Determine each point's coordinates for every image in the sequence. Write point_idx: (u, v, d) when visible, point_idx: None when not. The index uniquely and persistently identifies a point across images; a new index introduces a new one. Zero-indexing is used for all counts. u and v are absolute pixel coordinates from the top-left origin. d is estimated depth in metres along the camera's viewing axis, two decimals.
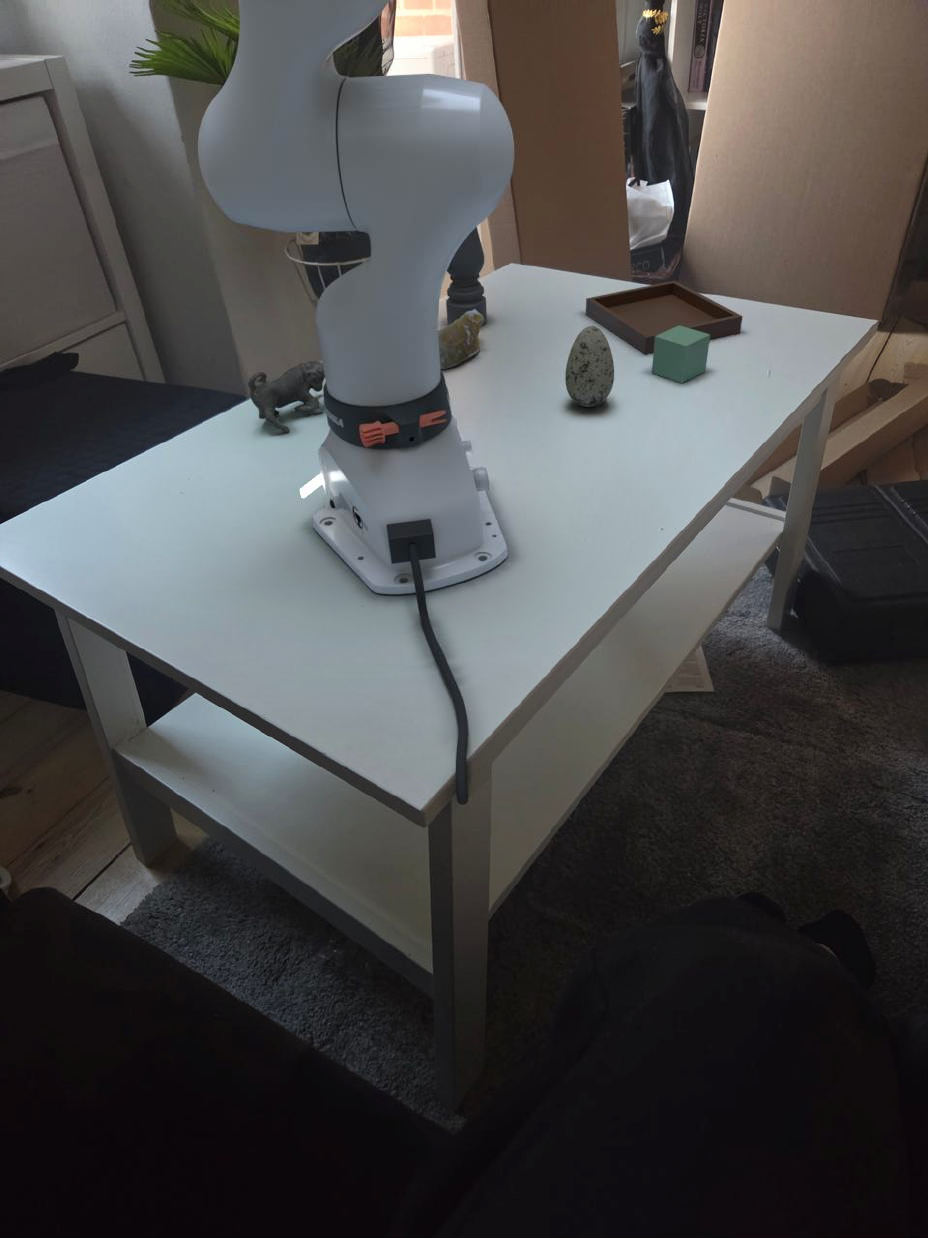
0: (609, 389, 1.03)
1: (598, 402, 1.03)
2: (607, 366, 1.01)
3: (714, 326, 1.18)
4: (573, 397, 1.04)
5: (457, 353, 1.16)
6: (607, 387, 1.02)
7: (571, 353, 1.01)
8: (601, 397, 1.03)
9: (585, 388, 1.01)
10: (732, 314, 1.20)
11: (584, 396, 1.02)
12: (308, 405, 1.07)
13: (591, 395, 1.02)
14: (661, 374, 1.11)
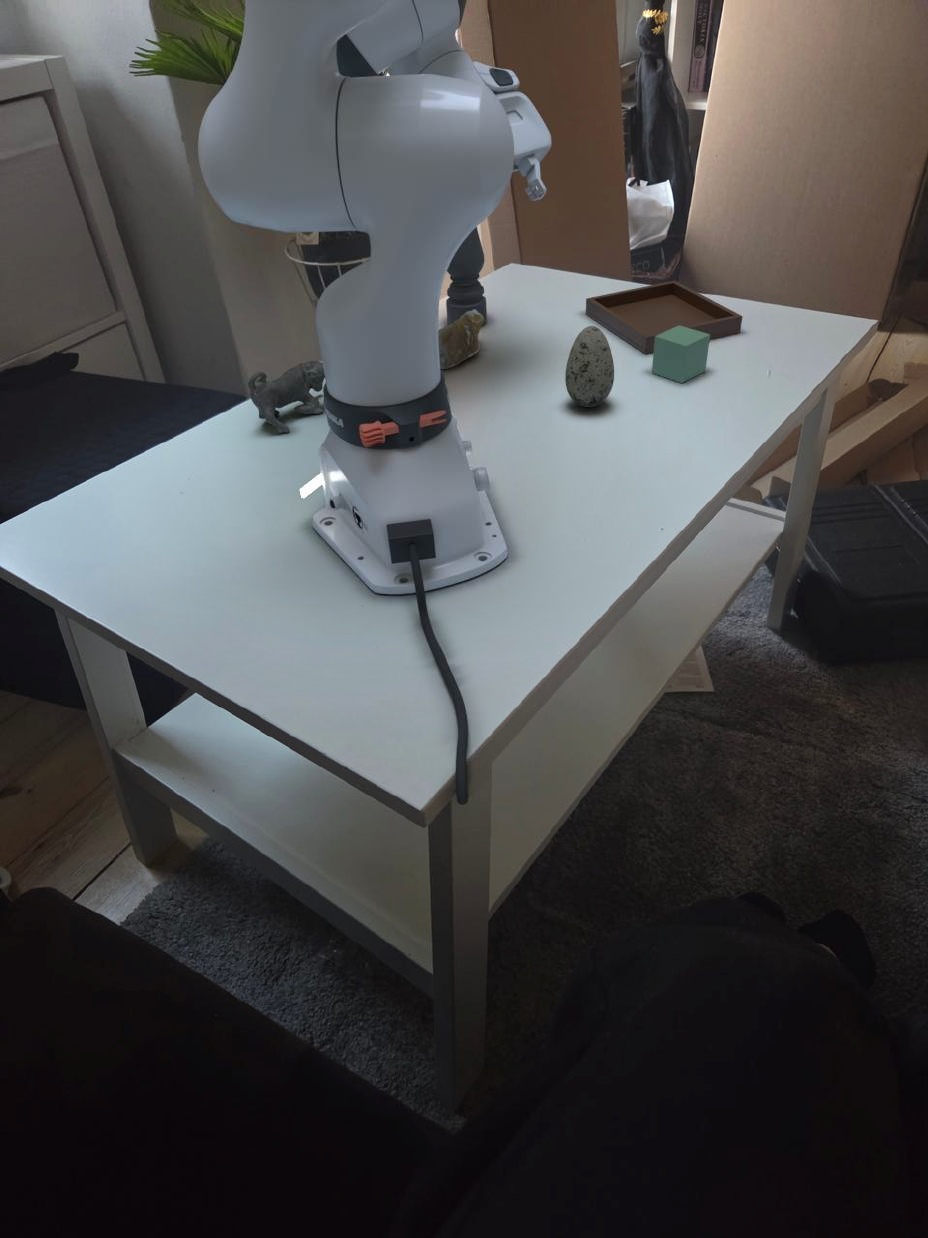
0: (609, 389, 1.03)
1: (598, 402, 1.03)
2: (607, 366, 1.01)
3: (714, 326, 1.18)
4: (573, 397, 1.04)
5: (457, 353, 1.16)
6: (607, 387, 1.02)
7: (571, 353, 1.01)
8: (601, 397, 1.03)
9: (585, 388, 1.01)
10: (732, 314, 1.20)
11: (584, 396, 1.02)
12: (308, 405, 1.07)
13: (591, 395, 1.02)
14: (661, 374, 1.11)
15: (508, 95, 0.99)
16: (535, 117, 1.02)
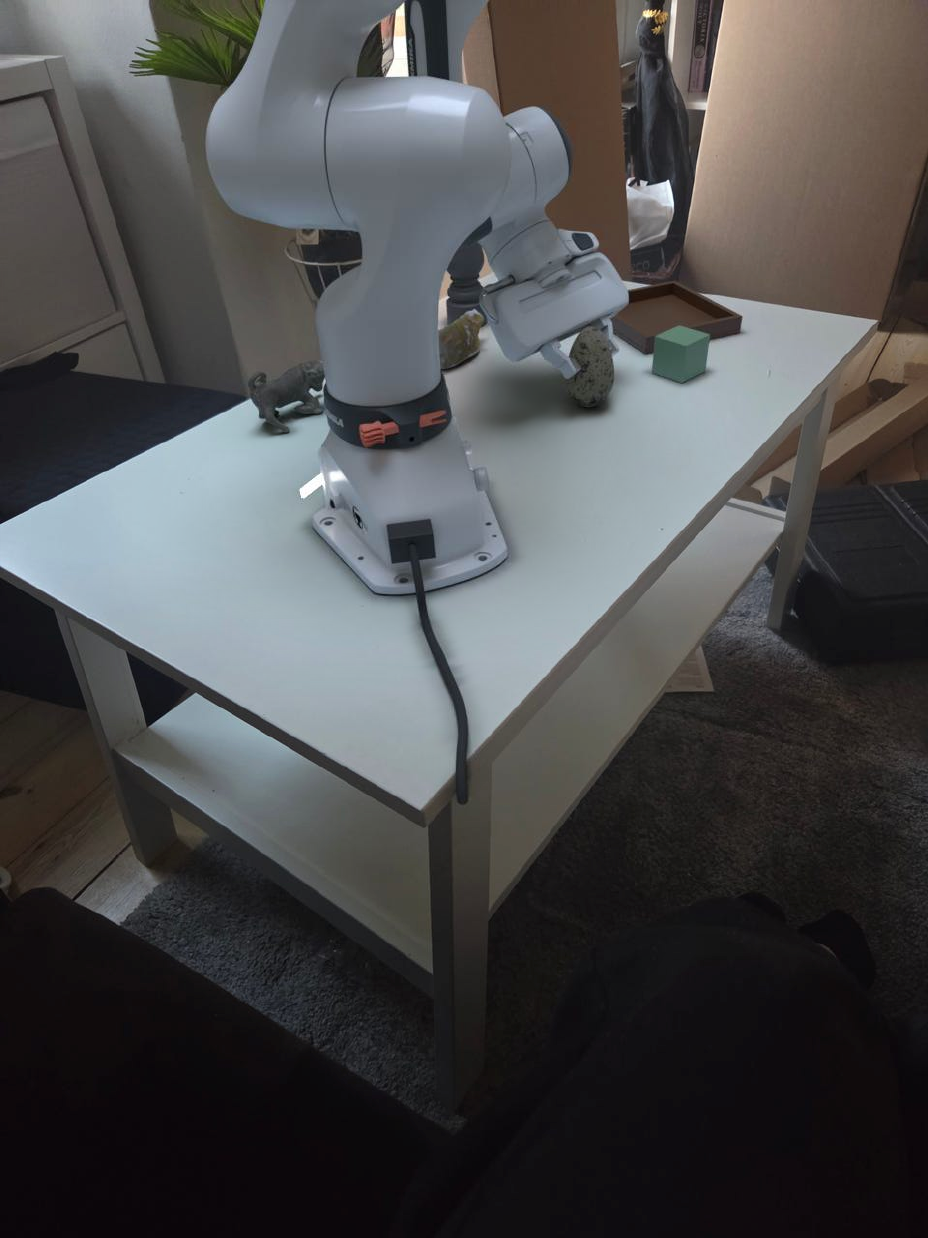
0: (609, 389, 1.03)
1: (598, 402, 1.03)
2: (607, 366, 1.01)
3: (714, 326, 1.18)
4: (573, 397, 1.04)
5: (457, 353, 1.16)
6: (607, 387, 1.02)
7: (571, 353, 1.01)
8: (600, 397, 1.03)
9: (585, 388, 1.01)
10: (732, 314, 1.20)
11: (584, 396, 1.02)
12: (307, 405, 1.07)
13: (591, 395, 1.02)
14: (661, 374, 1.11)
15: (589, 257, 1.02)
16: (613, 276, 1.04)
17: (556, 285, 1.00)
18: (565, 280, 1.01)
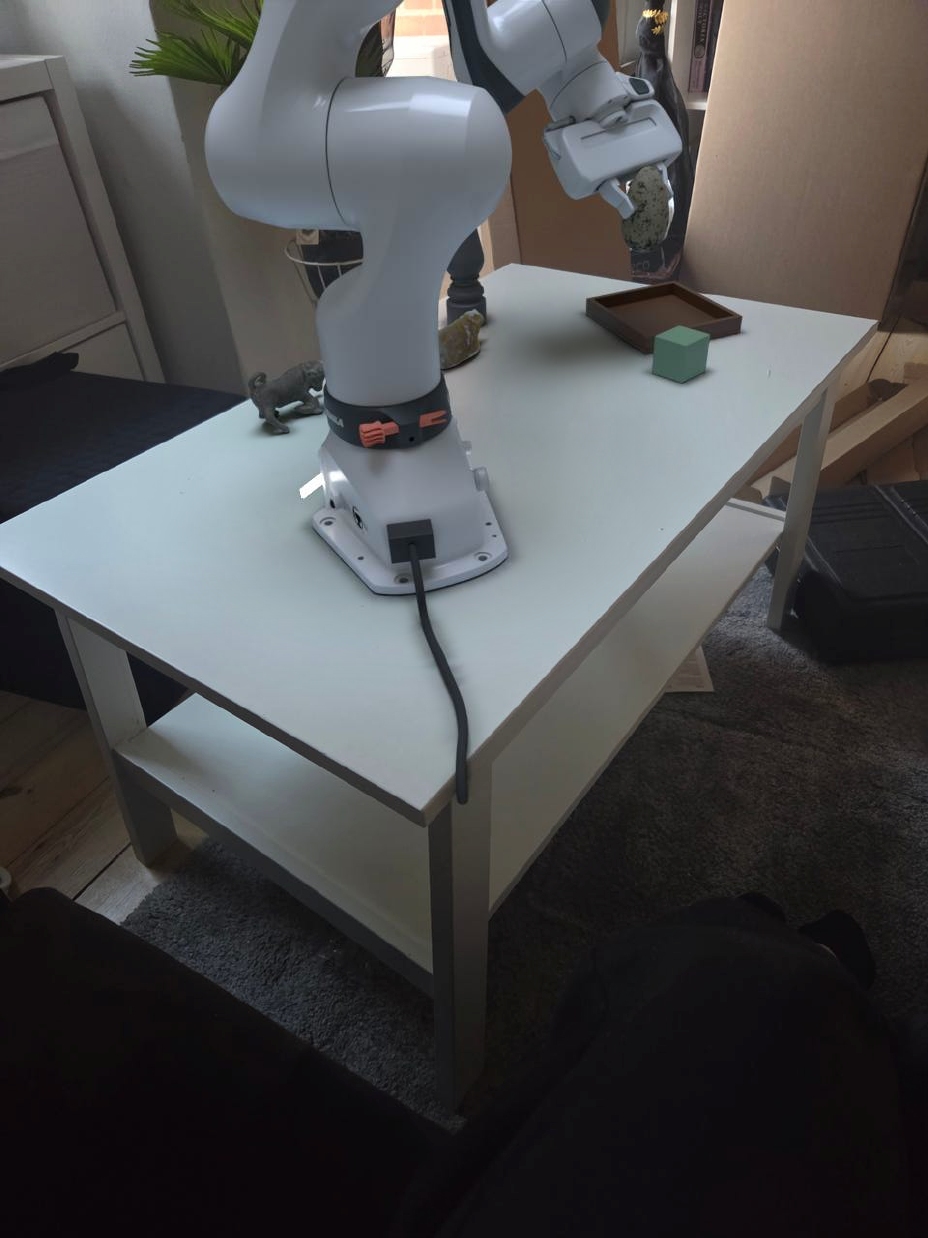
0: (664, 231, 1.06)
1: (653, 245, 1.07)
2: (663, 206, 1.04)
3: (714, 326, 1.18)
4: (629, 241, 1.07)
5: (457, 353, 1.16)
6: (662, 228, 1.05)
7: (628, 194, 1.05)
8: (656, 239, 1.06)
9: (642, 229, 1.05)
10: (732, 314, 1.20)
11: (640, 238, 1.06)
12: (308, 405, 1.07)
13: (647, 236, 1.05)
14: (661, 374, 1.11)
15: (645, 103, 1.05)
16: (668, 123, 1.08)
17: (614, 126, 1.03)
18: (623, 123, 1.04)
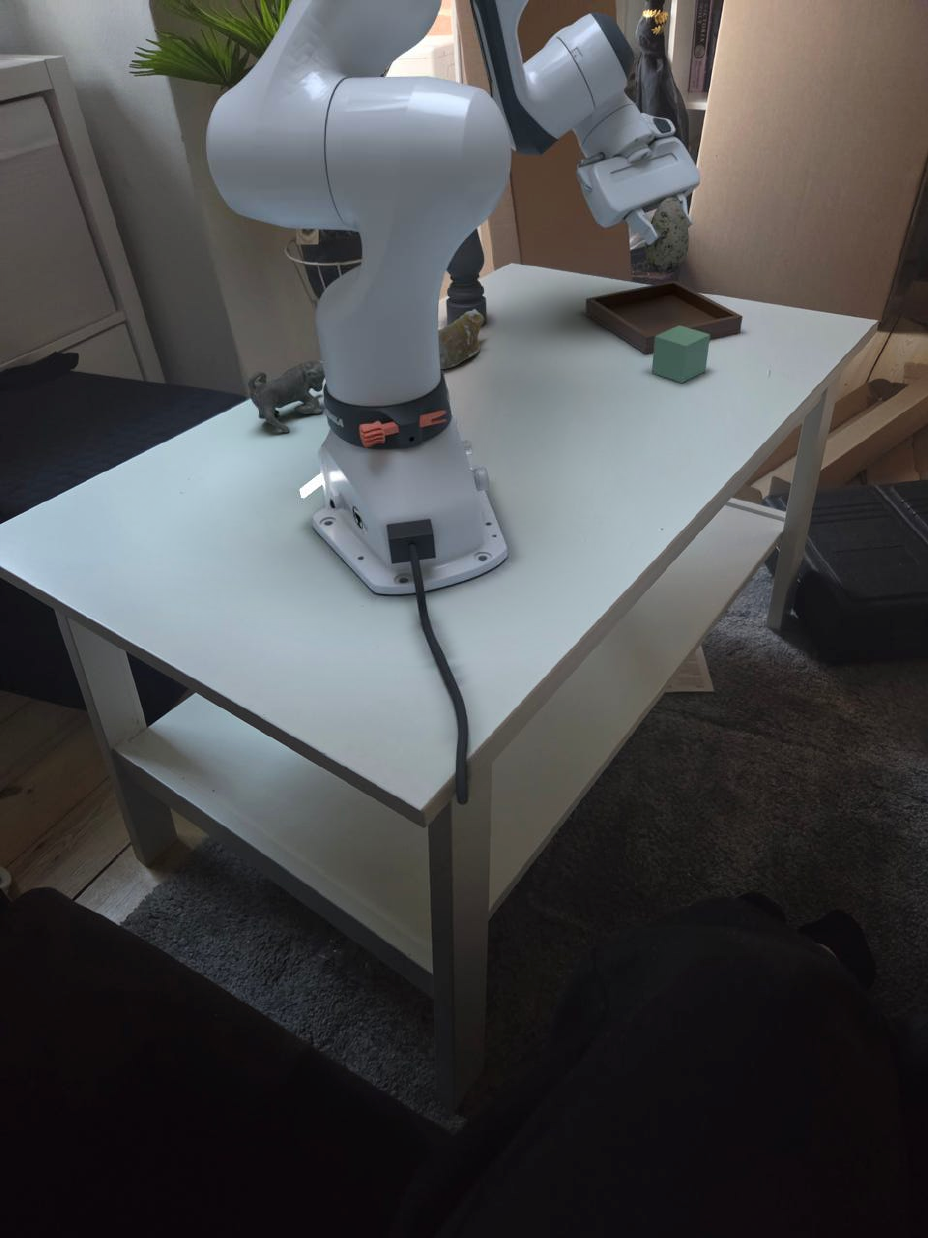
0: (684, 256, 1.17)
1: (674, 268, 1.18)
2: (684, 233, 1.15)
3: (714, 326, 1.18)
4: (652, 264, 1.18)
5: (457, 353, 1.16)
6: (682, 253, 1.17)
7: (652, 223, 1.16)
8: (677, 263, 1.17)
9: (664, 254, 1.16)
10: (732, 314, 1.20)
11: (663, 261, 1.17)
12: (308, 405, 1.07)
13: (669, 260, 1.17)
14: (661, 374, 1.11)
15: (667, 140, 1.17)
16: (687, 158, 1.19)
17: (640, 162, 1.15)
18: (647, 158, 1.15)
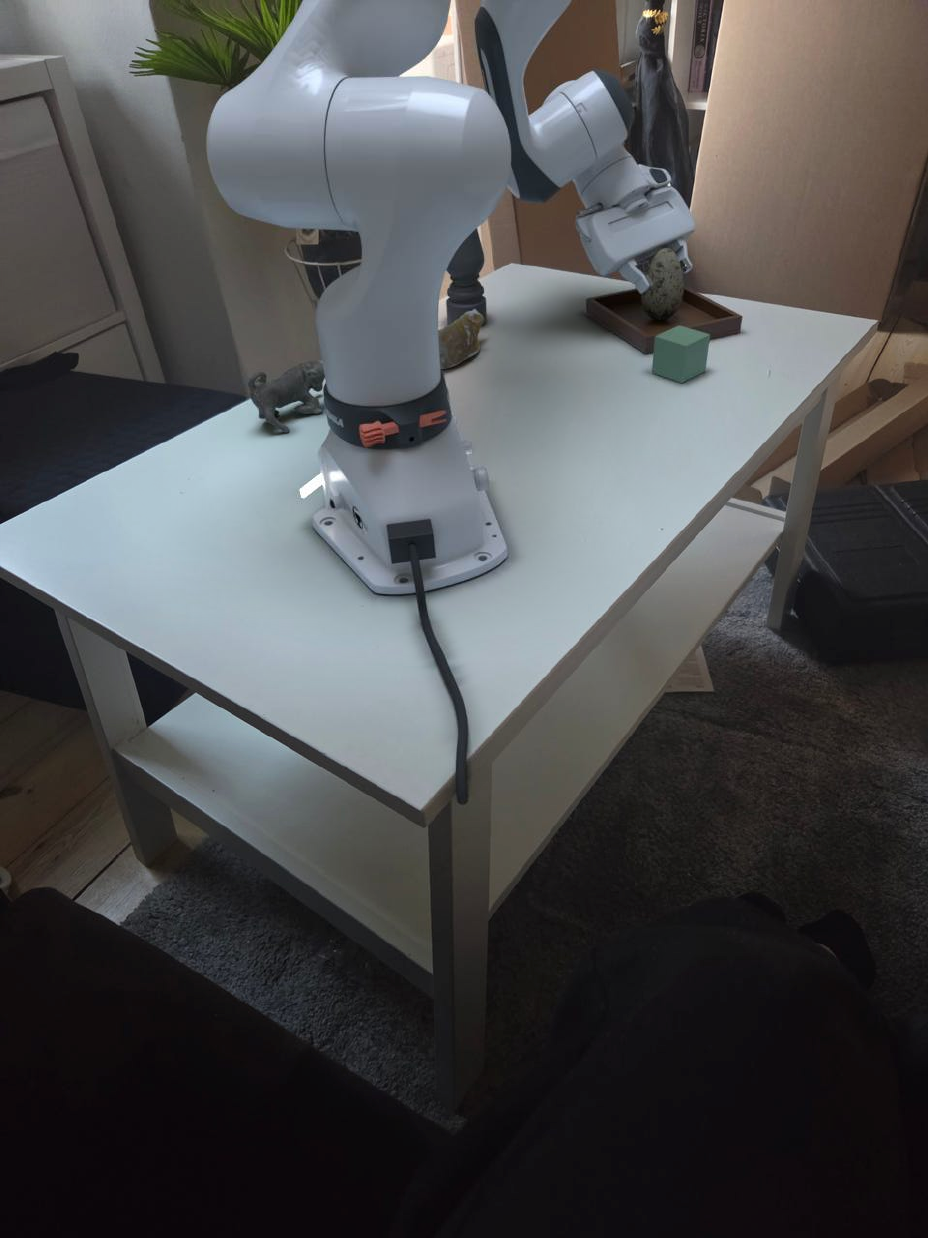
0: (679, 303, 1.21)
1: (669, 315, 1.22)
2: (679, 282, 1.19)
3: (714, 326, 1.18)
4: (648, 311, 1.22)
5: (457, 353, 1.16)
6: (677, 301, 1.21)
7: (648, 272, 1.20)
8: (672, 310, 1.22)
9: (660, 302, 1.20)
10: (732, 314, 1.20)
11: (658, 309, 1.21)
12: (308, 405, 1.08)
13: (664, 308, 1.21)
14: (661, 374, 1.11)
15: (663, 190, 1.21)
16: (683, 206, 1.23)
17: (637, 211, 1.19)
18: (644, 208, 1.19)
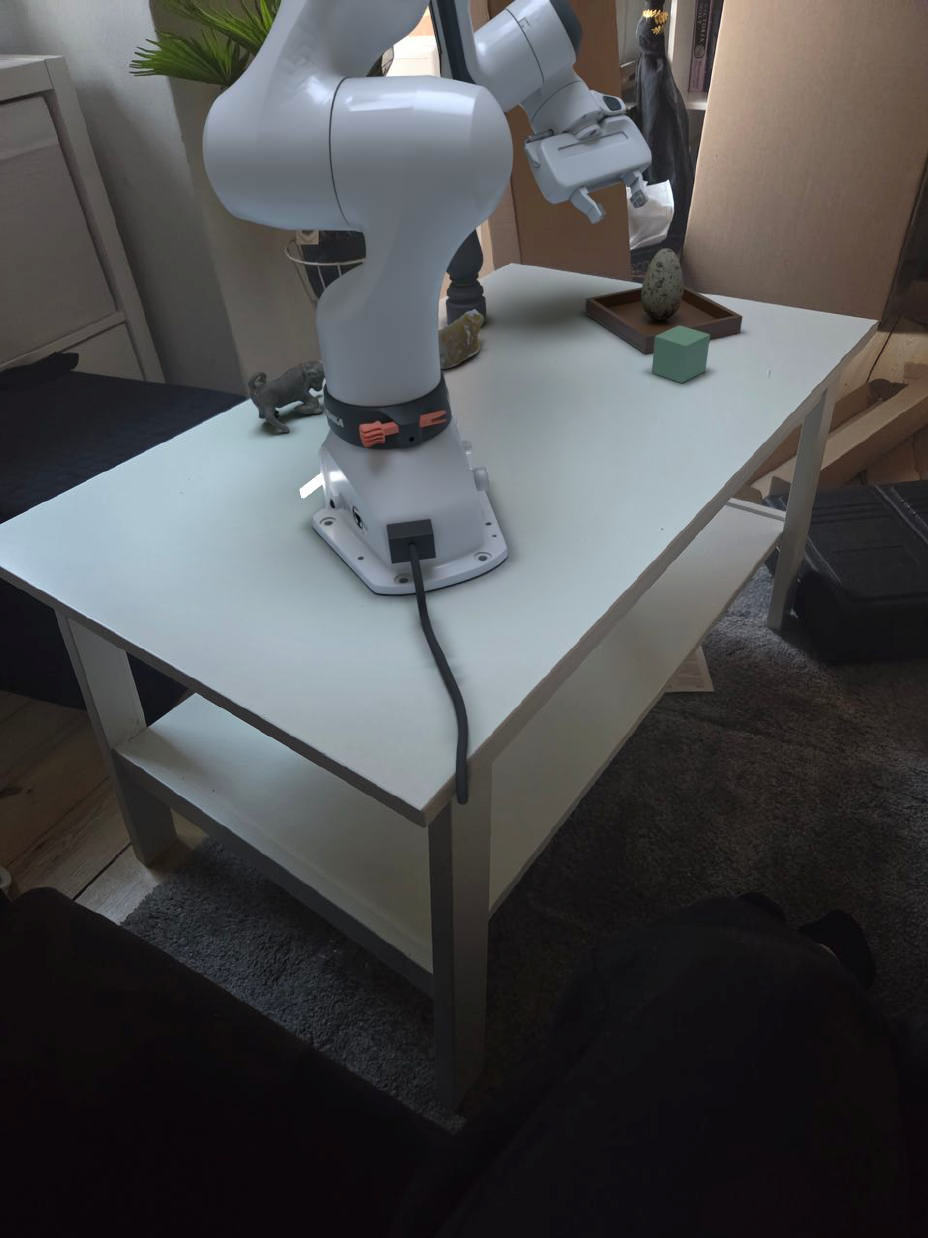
0: (679, 303, 1.21)
1: (669, 315, 1.22)
2: (679, 282, 1.19)
3: (714, 326, 1.18)
4: (648, 311, 1.22)
5: (457, 353, 1.16)
6: (677, 301, 1.21)
7: (648, 272, 1.20)
8: (672, 310, 1.22)
9: (660, 302, 1.20)
10: (732, 314, 1.20)
11: (658, 309, 1.21)
12: (307, 405, 1.07)
13: (664, 308, 1.21)
14: (661, 374, 1.11)
15: (617, 118, 1.17)
16: (638, 137, 1.19)
17: (589, 139, 1.14)
18: (597, 136, 1.15)
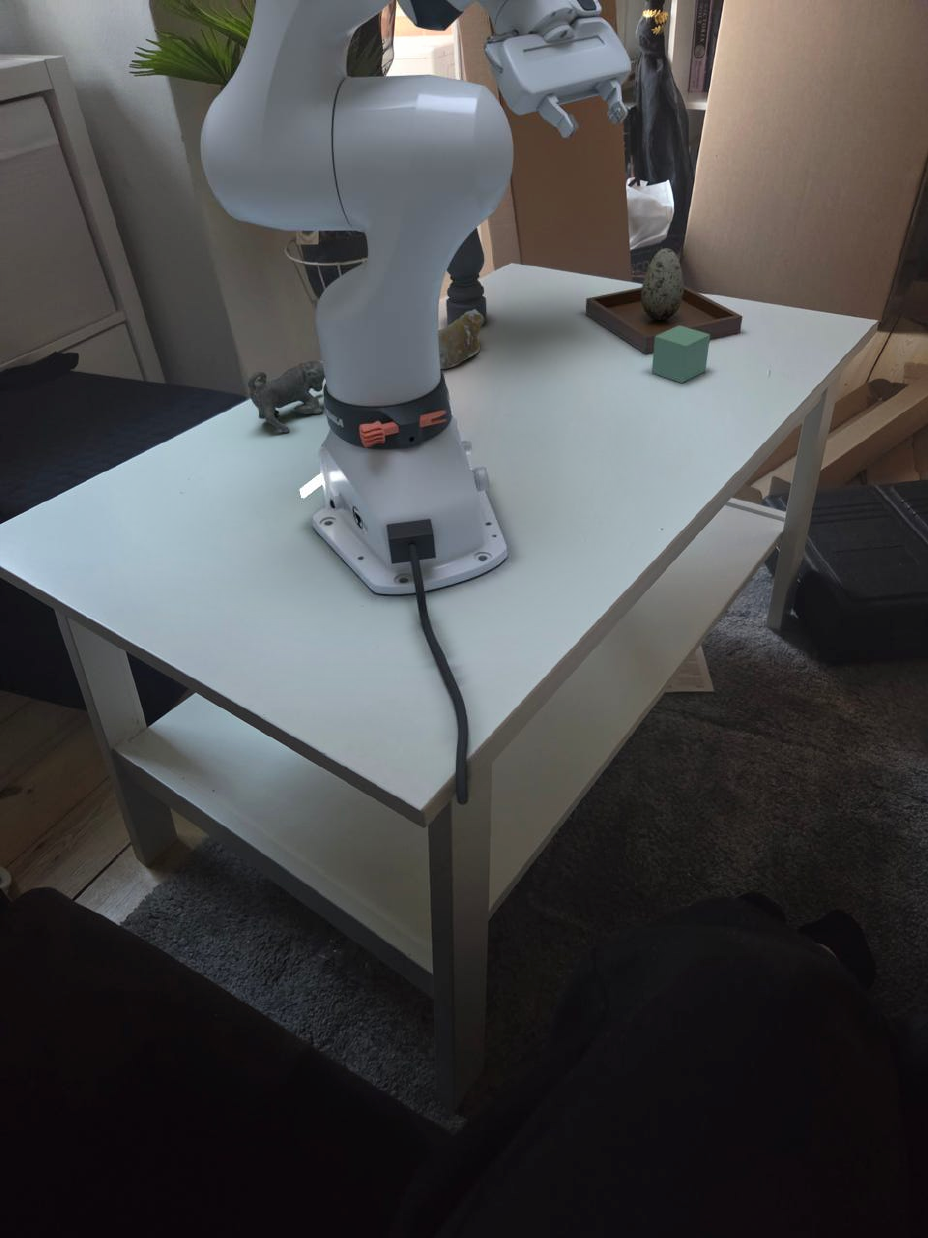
0: (679, 303, 1.21)
1: (669, 315, 1.22)
2: (679, 282, 1.19)
3: (714, 326, 1.18)
4: (648, 311, 1.22)
5: (457, 353, 1.16)
6: (677, 301, 1.21)
7: (648, 272, 1.20)
8: (672, 310, 1.22)
9: (660, 302, 1.20)
10: (732, 314, 1.20)
11: (658, 309, 1.21)
12: (307, 405, 1.08)
13: (664, 308, 1.21)
14: (661, 374, 1.11)
15: (592, 20, 1.03)
16: (616, 42, 1.06)
17: (559, 42, 1.01)
18: (568, 39, 1.02)
